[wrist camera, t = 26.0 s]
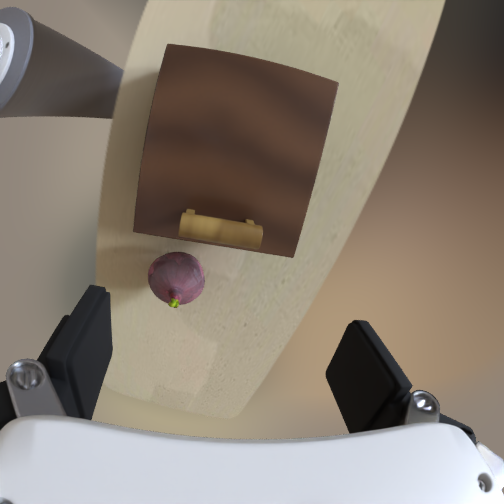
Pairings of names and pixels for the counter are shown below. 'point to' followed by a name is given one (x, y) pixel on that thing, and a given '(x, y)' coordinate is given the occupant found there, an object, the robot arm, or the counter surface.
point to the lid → (232, 150)
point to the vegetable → (176, 278)
